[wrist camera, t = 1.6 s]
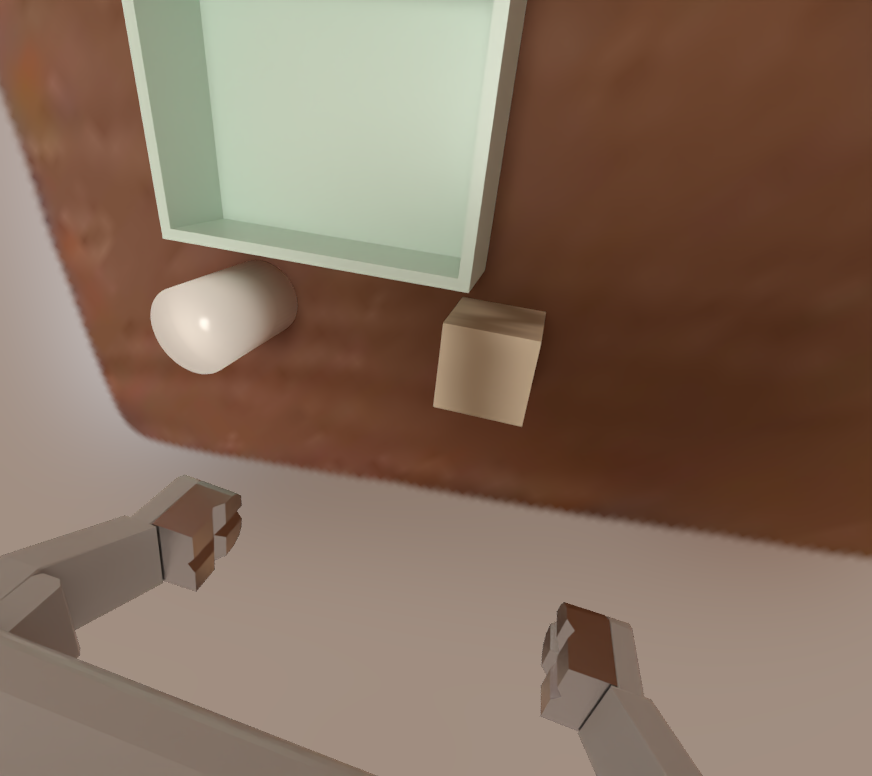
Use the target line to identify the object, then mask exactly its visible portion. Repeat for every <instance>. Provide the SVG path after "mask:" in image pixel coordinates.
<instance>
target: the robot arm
mask: <svg viewBox="0 0 872 776" xmlns="http://www.w3.org/2000/svg"><path fill="white" fill-rule="evenodd" d="M241 506H242V501H241V495H239V494H237V493H234V492H231V491H229V490H226V489H223V488H220V487H218V486H215V485H212V484H209V483H207V482H204V481H201V480H198V479H195V478H192V477H190V476H187V475H183V476H180V477H178V478H176V479H175V480H174V481H173V482H171V483H170V484H169V485H168V486H167V487H166V488H164V489H163V490H162V491H161V492H160V493H158V494H157V495H156V496H155V497H154V498H153V499H151V500H150V501H149V502H148V503H147V504H146V505H144V506H143V507H142V508H141V509H139V510H138V511H137V512H136V513H135V514H134V515H132V516H131V517H128V516H122V517H119V518H116V519H112V520H109V521H106V522H103V523H100V524H97V525H94V526H91V527H88V528H85V529H82V530H79V531H75V532H73V533H69V534H66V535H63V536H60V537H57V538H54V539H51V540H48V541H45V542H42V543H38V544H35V545H32V546H29V547H26V548H23V549H20V550H17V551H14V552H11V553H8V554H5V555H2V556H1V557H0V776H376V775H374V774H371V773H369V772H366V771H364V770H361V769H359V768H356V767H353V766H351V765H348V764H345V763H343V762H340V761H338V760H336V759H333V758H330V757H328V756H325V755H323V754H320V753H318V752H315V751H312V750H310V749H307V748H305V747H302V746H300V745H297V744H295V743H292V742H289V741H287V740H284V739H281V738H279V737H276V736H274V735H271V734H269V733H266V732H264V731H261V730H259V729H256V728H254V727H251V726H248V725H246V724H243V723H241V722H238V721H236V720H233V719H230V718H228V717H225V716H223V715H220V714H218V713H215V712H212V711H210V710H207V709H205V708H202V707H200V706H197V705H194V704H192V703H189V702H187V701H184V700H181V699H179V698H177V697H174V696H171V695H169V694H166V693H164V692H161V691H159V690H156V689H153V688H151V687H148V686H146V685H143V684H141V683H138V682H135V681H133V680H130V679H128V678H125V677H123V676H120V675H118V674H115V673H112V672H110V671H107V670H105V669H102V668H99V667H97V666H94V665H92V664H89V663H87V662H84V661H81V660H79V659H77V658H78V657H79V656H80V646H79V642H78V639H77V636H76V632H75V630H76V629H78V628H80V627H82V626H84V625H86V624H87V623H89V622H91V621H93V620H95V619H97V618H98V617H101V616H102V615H104V614H106V613H108V612H110V611H112V610H113V609H115V608H117V607H119V606H121V605H123V604H125V603H126V602H129V601H130V600H132V599H134V598H136V597H138V596H140V595H142V594H143V593H145V592H147V591H149V590H151V589H153V588H155V587H157V586H158V585H160V584H162V583H163V581H165V582H168V583H172V584H175V585H177V586H180V587H184V588H187V589H190V590H193V591H197V590H198V589H199V588H200V587H201V585H202V584H203V583H204V582H205V580H206V579H207V578H208V577H209V576H210V575H211V573H212V572H213V571H214V570H215V560H217V559H219V558H221V557H223V556H226V555H227V554H228V552H229V551H230V550H231V549H232V547H233V546H234V544H235V542H236V541H237V539H238V537H239V535H240V531H241V526H242V518H241V517H240V515H239V514H238V512H237V510H238V509H239V508H240V507H241ZM541 666H542V668H543V670H544V671H545V673H546V677H545V679H544V681H543V683H542V685H541V717H543V718H546V719H548V720H551V721H554V722H556V723H559V724H561V725H564V726H566V727H569V728H571V729H574V730H576V731H579V733H578V735H579V737H580V739H581V742H582V744H583V746H584V748H585V750H586V753H587V755H588V758H589V760H590V762H591V764H592V767H593V769H594V771H595V773H596V776H702V774H701V773H700V771H699V770H698V768H697V767H696V765H695V764H694V762H693V761H692V759H691V758H690V756H689V755H688V753H687V752H686V750H685V749H684V748H683V746H682V744H681V743H680V741H679V740H678V739H677V737H676V736H675V734H674V733H673V731H672V730H671V728H670V727H669V725H668V724H667V722H666V721H665V719H664V718H663V716H662V715H661V713H660V712H659V710H658V709H657V707H656V706H655V705H654V703H653V702H652V700H651V699H648V698H646V697H644V693H643V687H642V681H641V676H640V670H639V664H638V659H637V653H636V647H635V642H634V636H633V630H632V628H631V626H630V624H629V623H626V622H622V621H619V620H616V619H613V618H610V617H606V616H605V615H602V614H599V613H596V612H593V611H590V610H587V609H583V608H580V607H577V606H574V605H571V604H568V603H565V602H564V603H562V604H561V605H560V607H559V609H558V611H557V621H556V622H554V623H551V624H550V626H549V628H548V631H547V633H546V636H545V640H544V644H543V650H542V665H541Z"/></svg>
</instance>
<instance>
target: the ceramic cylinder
mask: <svg viewBox="0 0 872 776" xmlns="http://www.w3.org/2000/svg"><path fill="white" fill-rule="evenodd" d="M297 306H298V304H297V297H296V293H295V290H294V288H293V286H292V284H291V282H290V280H289V279H288V278H287V276H286V275H285V274H284V273H283V272H282V271H281V270H280V269H278V268H277V267H276V266H274V265H272V264H270V263H268V262H265V261H261V260H251V261H247V262H244V263H241V264H238V265H235V266H232V267H229V268H226V269H223V270H220V271H217V272H215V273H212V274H209V275H206V276H203V277H200V278H197V279H194V280H191V281H188V282H185V283H182V284H179V285H177V286H174V287H171V288H168V289H165V290H163V291H162V292H160V293H159V294H158V295H157V296H156V298H155V299H154V301H153V303H152V307H151V324H152V328H153V331H154V334H155V336H156V338H157V340H158V342H159V344H160V345H161V347H162V348H163V350H164V351H165V352H166V353H167V354H168V356H169V357H171V358H172V359H173V360H174V361H175V362H176V363H177V364H179V365H180V366H182V367H184V368H185V369H187V370H190V371H192V372H195V373H199V374H212V373H215V372H218V371H220V370H221V369H223V368H224V367H226V366H228V365H229V364H231V363H232V362H234V361H236V360H237V359H239V358H240V357H242V356H244V355H245V354H247V353H248V352H250V351H252V350H253V349H255V348H256V347H258V346H260V345H261V344H263V343H264V342H266V341H268V340H269V339H271V338H272V337H274V336H276V335H277V334H279V333H280V332H282V331H283V330H285V329H287V328H288V327H289V326H290V325H291V324H292V323H293V321H294V319H295V317H296V314H297Z"/></svg>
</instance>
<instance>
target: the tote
mask: <svg viewBox="0 0 872 776" xmlns="http://www.w3.org/2000/svg"><path fill="white" fill-rule="evenodd" d="M122 5H123V11H124V16H125V22H126V28H127V34H128V40H129V45H130V51H131V57H132V63H133V68H134V74H135V80H136V86H137V92H138V97H139V103H140V109H141V115H142V120H143V126H144V132H145V138H146V144H147V149H148V155H149V161H150V167H151V172H152V178H153V184H154V190H155V196H156V201H157V207H158V213H159V219H160V224H161V230H162V236H163V239H169V240H174V241H180V242H185V243H191V244H197V245H202V246H208V247H213V248H219V249H225V250H230V251H236V252H241V253H247V254H253V255H258V256H264V257H269V258H275V259H281V260H286V261H292V262H297V263H303V264H309V265H314V266H320V267H325V268H331V269H336V270H342V271H348V272H353V273H359V274H364V275H370V276H376V277H381V278H387V279H392V280H398V281H404V282H409V283H415V284H420V285H426V286H432V287H437V288H443V289H448V290H454V291H460V292H465V293H469V292H470V291H471V289H472V288H473V286H474V285H475V284H476V282H477V281H478V279H479V278H480V277H481V275H482V274H483V273H484V271H485V268H486V262H487V255H488V249H489V242H490V236H491V230H492V223H493V217H494V210H495V204H496V197H497V191H498V185H499V178H500V172H501V165H502V159H503V153H504V146H505V140H506V133H507V127H508V121H509V114H510V108H511V101H512V95H513V88H514V82H515V76H516V69H517V63H518V56H519V50H520V44H521V37H522V31H523V24H524V18H525V12H526V5H527V0H122Z"/></svg>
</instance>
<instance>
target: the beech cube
mask: <svg viewBox="0 0 872 776" xmlns="http://www.w3.org/2000/svg"><path fill="white" fill-rule="evenodd" d="M545 317H546V312H544V311H538V310H533V309H527V308H522V307H516V306H511V305H505V304H500V303H494V302H489V301H483V300H478V299H472V298H467V297H462V298H461V300H460V301H459V302H458V304H457V305H456V306H455V308H454V309H453V310H452V312H451V313H450V314H449V316H448V317H447V318H446V320H445V321H444V322H443V328H442V337H441V345H440V354H439V362H438V370H437V379H436V387H435V396H434V404H433V407H436V408H441V409H445V410H450V411H454V412H458V413H463V414H467V415H472V416H476V417H481V418H485V419H489V420H494V421H498V422H503V423H507V424H512V425H516V426H520V427H522V424H523V420H524V415H525V411H526V407H527V403H528V398H529V394H530V390H531V385H532V381H533V377H534V372H535V368H536V364H537V359H538V355H539V351H540V347H541V342H542V336H543V329H544V323H545Z"/></svg>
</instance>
